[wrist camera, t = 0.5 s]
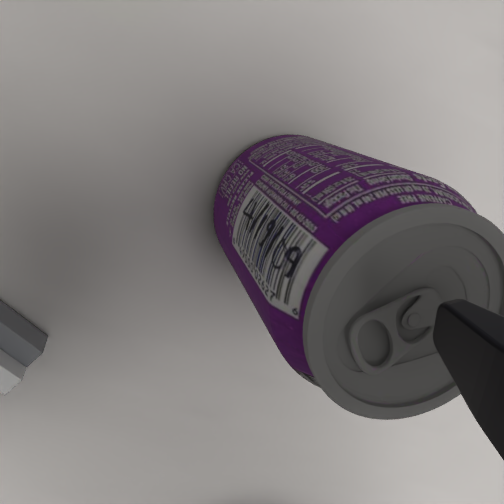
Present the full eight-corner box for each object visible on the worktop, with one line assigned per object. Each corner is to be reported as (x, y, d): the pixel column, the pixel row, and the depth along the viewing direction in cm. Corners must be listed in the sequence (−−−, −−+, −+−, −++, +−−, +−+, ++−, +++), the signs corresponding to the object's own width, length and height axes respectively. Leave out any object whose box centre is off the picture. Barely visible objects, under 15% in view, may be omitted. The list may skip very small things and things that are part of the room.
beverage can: (248, 297, 24) (346, 475, 14) (184, 177, 22) (241, 278, 11) (367, 233, 25) (555, 354, 14) (319, 106, 22) (508, 133, 11)
